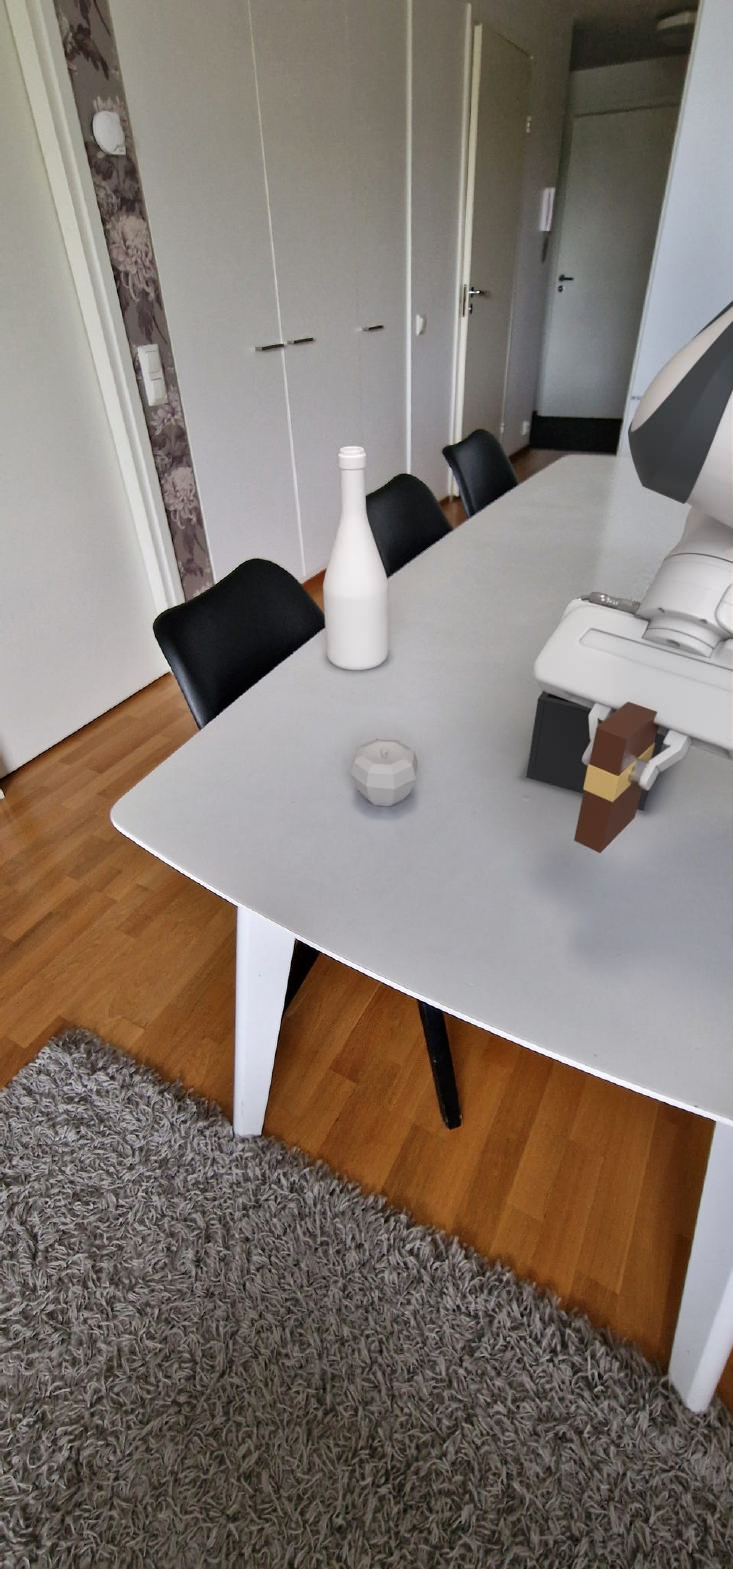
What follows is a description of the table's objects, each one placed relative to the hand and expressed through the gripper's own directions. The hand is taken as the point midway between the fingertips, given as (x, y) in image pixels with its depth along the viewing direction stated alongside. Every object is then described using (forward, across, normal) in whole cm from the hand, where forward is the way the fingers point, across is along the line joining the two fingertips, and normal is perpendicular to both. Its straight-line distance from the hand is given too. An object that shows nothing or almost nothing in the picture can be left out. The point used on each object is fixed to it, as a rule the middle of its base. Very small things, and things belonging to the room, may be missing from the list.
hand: (614, 775), depth 55 cm
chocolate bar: (+4, 0, +5) cm, 6 cm away
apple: (+10, -26, +14) cm, 32 cm away
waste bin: (-5, -11, +30) cm, 32 cm away
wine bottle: (-6, -53, +30) cm, 61 cm away
